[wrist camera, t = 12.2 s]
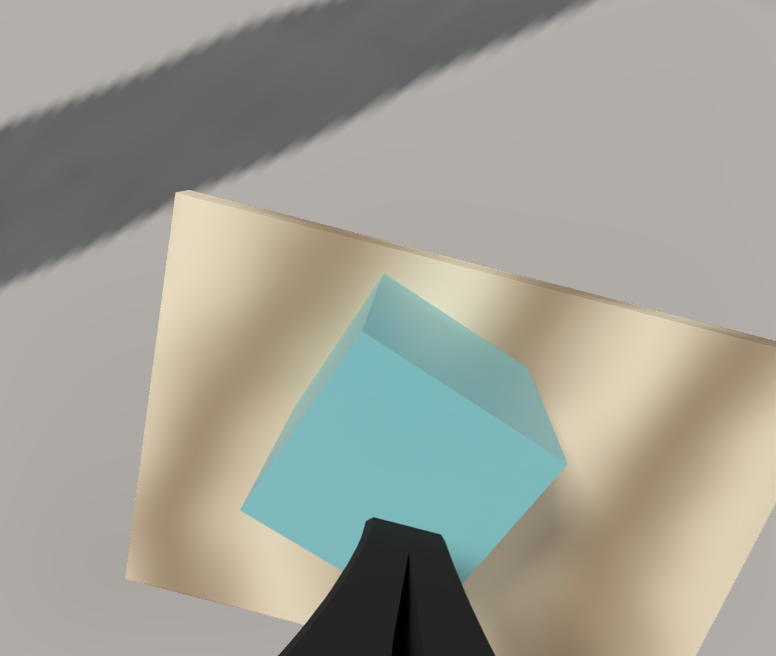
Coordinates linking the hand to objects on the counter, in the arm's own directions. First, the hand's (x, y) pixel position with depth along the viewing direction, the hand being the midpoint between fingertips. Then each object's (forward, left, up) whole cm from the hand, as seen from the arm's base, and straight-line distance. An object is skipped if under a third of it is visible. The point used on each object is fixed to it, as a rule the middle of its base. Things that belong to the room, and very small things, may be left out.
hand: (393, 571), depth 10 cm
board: (-2, +3, -9) cm, 10 cm away
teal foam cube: (0, 0, -8) cm, 8 cm away
